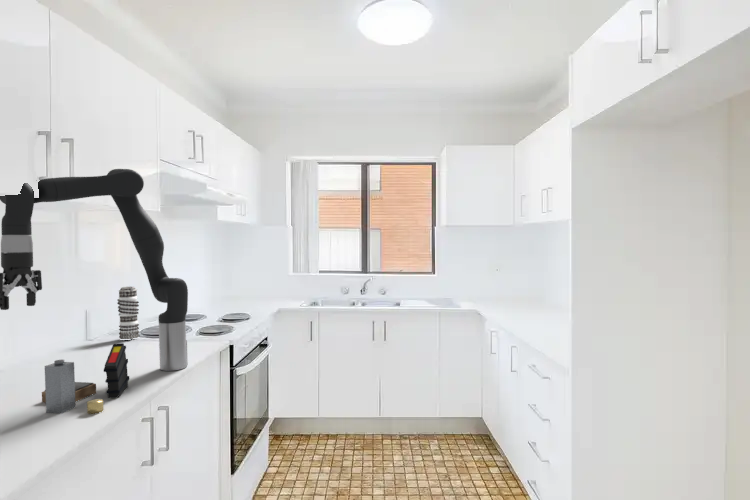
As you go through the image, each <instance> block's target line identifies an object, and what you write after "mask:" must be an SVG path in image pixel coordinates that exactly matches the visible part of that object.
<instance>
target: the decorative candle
mask: <svg viewBox="0 0 750 500" xmlns="http://www.w3.org/2000/svg"><path fill="white" fill-rule="evenodd" d="M137 291H138V289H137V288H136V287H135V286H123V287H120V290H118V299H117V302H116V303H117V305H118V306H117V309H118V310H117V311H118V316H119V325H118V327H119V329H118V331H119V333H118V334H119V337H118V338H119V340H120V339H133V338H138V337H139V336H140V334H139V333H140V331H139V329H140V327H139V326H140V324H139V320H138V315H139V311H140V310H139V309H138V307H139V306H140V304H139V303H140V302H139V301H138V295H137V294H138V293H137Z"/></svg>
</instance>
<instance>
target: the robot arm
mask: <svg viewBox="0 0 750 500" xmlns="http://www.w3.org/2000/svg"><path fill="white" fill-rule="evenodd" d="M39 180H40V181H39V182H38V189H39V198H34V191H33V189H32V187H31V186H30V185H29V184H28V183H24V184H23V186H22V189H21V191H20V193H21V194H18V195H5V196H0V201H1V203H3V204H4V205H5V207H4V209H5V212H4V215H3V216H2V217H1V225H0V226H1V237H0V238H1V239H0V267H1V268H2V269H3V270H2V272H0V310H1V311H6V310H7V311H8V310H9V309H10V296H8V295H10V292H11V291H12V290H14V289H15V288H17V287H22V288H23V289H24V290H25V292H26V306H28V307H34V306H36V303H37V295H36V294H37V292H39V291H42V290H43V282H42V270H40V269H34V270H33V269H32V268H33V267H34V242H33V237H32V236H33V234H32V217H33V212H34V205H35V204H39V203H52V202H53V203H54V202H56V203H57V202H62V201H71V200H78V199H84V198H92V197H102V196H103V197H105V196H111V198H112V200H113V201H114V204H115V205H116V207H117V208H118V210H119V212H120V214H121V217H122V219H123V221H124V224H125V226H126V229H127V231H128V232H129V236H130V238H131V241H132V244H133V246H134V247H135V250H136V251H137V254H138V256H139V258H140V260H141V261H140V262H141V264H142V266H143V268H144V271H145V273H146V277H147V280H148V284H149V286H150V289H151V292H152V295H153V297H154V298H155V300H156V301H158V302H160V303H163V304H166V309H165V311H164V312H162V313H160V314H159V315H158V342H159V343H158V347H159V349H158V350H159V370H160V371H164V372H166V371H167V372H168V371H169V372H170V371H178V370H184V369H185V368H187V367H188V363H189V362H188V361H189V360H188V340H187V329H186V328H187V327H186V325H187V324H186V318H187V317H186V316H187V313H188V307H189V306H188V301H189V297H188V296H189V289H188V285H187V283H186V281H185V280H184V279H182V278H179V277H178V278H177V277H169V276H168V275H167V273H166V269H165V268H164V264H163V258H164V257H163V256H164V251H165V249H164V248H165V245H164V239H163V238H162V235H161V233H160V230H159V228H158V226H157V224H156V223H155V221H154V220H153V219H152V217H151V216H150V215H149V214H148V213H147V212H146V210H145V209H144V208H143V206H142V204H141V203H140V201H139V199H138V196H137V195H138V194H140V193H141V192H142V191H143V189H144V185H145V183H144V182H145V181H144V178H143V176H142V175H141V174H140V172H137V171H136V170H135V169H130V168H115V169H114V168H113V169H111V170H110V171H108V173H107V174H106V175H97V176H62V177H59V176H58V177H49V178H42V179H39Z"/></svg>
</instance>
